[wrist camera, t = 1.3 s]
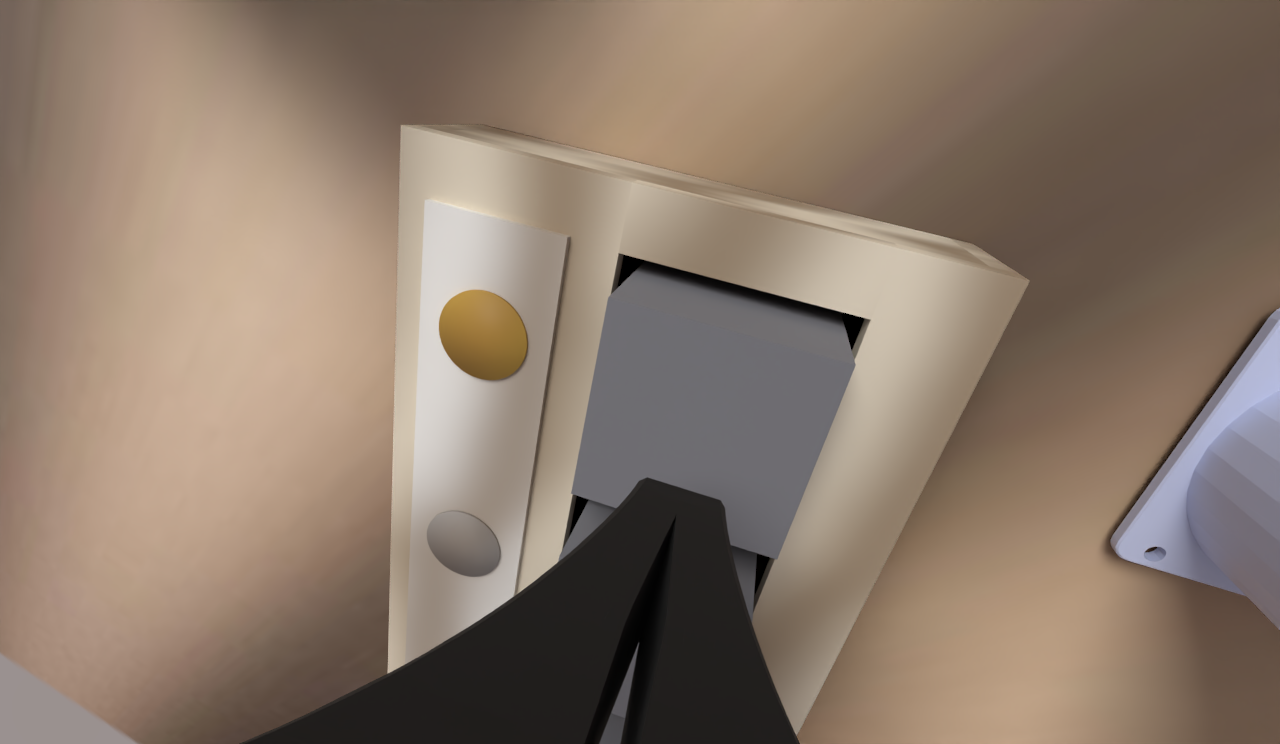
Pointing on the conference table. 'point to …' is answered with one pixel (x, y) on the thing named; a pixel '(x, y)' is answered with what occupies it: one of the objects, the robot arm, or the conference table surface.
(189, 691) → the conference table surface
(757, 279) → the button box
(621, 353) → the button
